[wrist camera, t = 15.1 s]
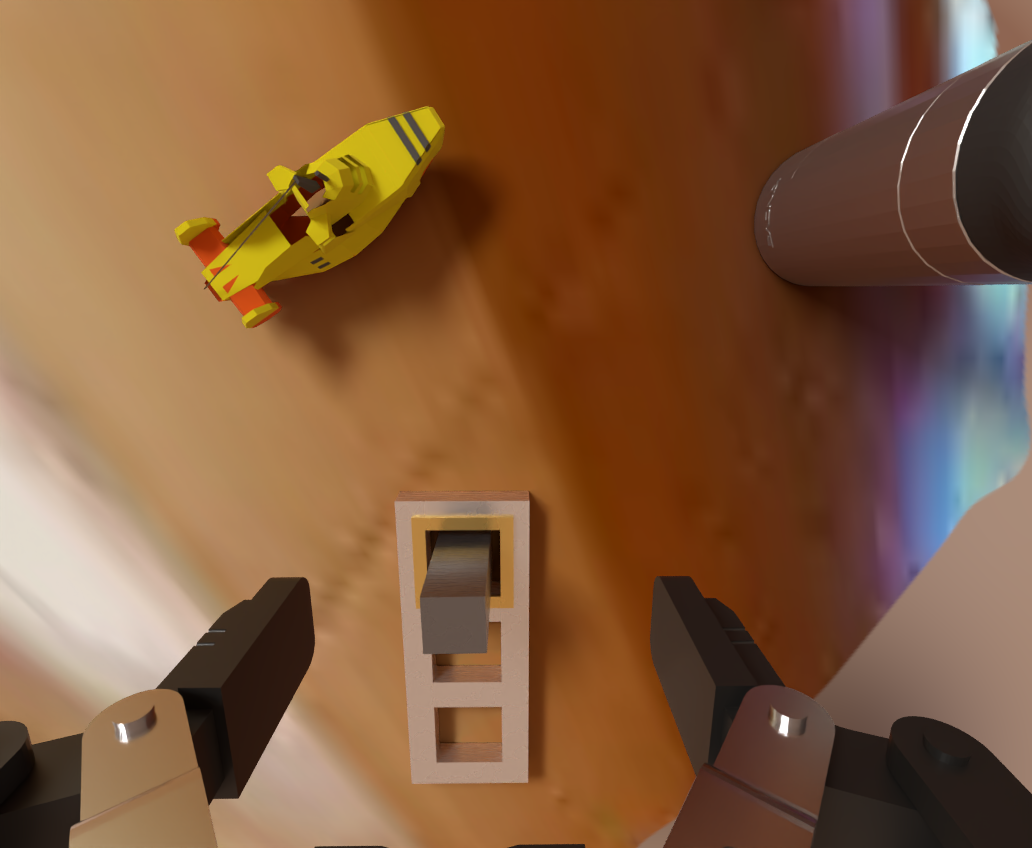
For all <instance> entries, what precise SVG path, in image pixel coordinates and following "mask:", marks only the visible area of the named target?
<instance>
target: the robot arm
mask: <svg viewBox="0 0 1032 848" xmlns="http://www.w3.org/2000/svg"><path fill="white" fill-rule="evenodd" d="M754 232H755V237H756V242H757V246H758V249H759V251H760V253H761V255H762V258H763V259H764V261H765V262H766V263H767V265H768V266H769V267H770V269H771V270H772V271H774V272H775V273H776V274H777V275H779V276H780V277H781V278H783V279H785V280H787V281H789V282H791V283H793V284H798V285H803V286H933V285H993V284H1032V40H1030V41H1029V42H1026V43H1024V44H1022V45H1020V46H1018V47H1016V48H1014V49H1012V50H1010V51H1007V52H1006V53H1003V54H1001V55H999V56H997V57H995V58H993V59H991V60H989V61H987V62H985V63H983V64H981V65H979V66H977V67H975V68H973V69H971V70H969V71H967V72H965V73H963V74H960V75H958V76H956V77H954V78H952V79H950V80H948V81H946V82H944V83H942V84H940V85H938V86H935V87H933V88H931V89H929V90H927V91H925V92H923V93H921V94H919V95H917V96H915V97H913V98H910V99H908V100H906V101H904V102H902V103H900V104H898V105H896V106H894V107H892V108H890V109H888V110H885V111H883V112H881V113H879V114H877V115H875V116H873V117H871V118H869V119H867V120H865V121H863V122H860V123H858V124H856V125H854V126H852V127H850V128H848V129H846V130H844V131H842V132H840V133H837V134H835V135H833V136H831V137H829V138H827V139H825V140H823V141H821V142H819V143H817V144H815V145H812V146H810V147H808V148H806V149H804V150H802V151H800V152H798V153H796V154H795V155H793V156H792V157H790V158H789V159H788V160H786V161H785V162H783V163H782V164H781V165H780V167H779V168H778V169H777V170H776V171H775V172H774V173H773V174H772V175H771V177H770V178H769V180H768V182H767V183H766V185H765V186H764V188H763V190H762V193H761V195H760V198H759V200H758V203H757V208H756V213H755V231H754ZM650 643H651V653H652V659H653V663H654V666H655V669H656V671H657V674H658V677H659V679H660V682H661V684H662V687H663V690H664V692H665V695H666V698H667V700H668V703H669V706H670V708H671V711H672V713H673V716H674V719H675V721H676V724H677V727H678V729H679V732H680V735H681V737H682V740H683V742H684V745H685V748H686V750H687V753H688V756H689V758H690V761H691V764H692V766H693V769H694V771H695V774H696V779H695V781H694V783H693V785H692V787H691V789H690V791H689V794H688V796H687V798H686V800H685V802H684V804H683V806H682V808H681V810H680V813H679V815H678V817H677V819H676V821H675V823H674V825H673V827H672V829H671V832H670V834H669V836H668V838H667V840H666V842H665V845H664V846H663V848H1032V794H1031V793H1030V792H1029V791H1028V790H1027V789H1026V788H1025V787H1024V786H1023V785H1022V784H1021V782H1019V780H1018V779H1017V778H1015V776H1014V775H1013V774H1012V773H1011V772H1010V771H1009V770H1008V769H1007V768H1006V767H1005V766H1004V765H1003V764H1002V763H1001V762H1000V761H999V760H998V759H997V758H996V757H995V756H994V755H993V753H991V752H990V751H989V750H988V749H987V748H986V747H985V746H984V745H983V744H981V743H980V742H979V741H977V740H976V739H974V738H973V737H971V736H970V735H968V734H966V733H965V732H963V731H961V730H959V729H957V728H955V727H953V726H951V725H949V724H946V723H943V722H941V721H937V720H934V719H930V718H925V717H917V716H908V717H903V718H900V719H898V720H897V721H895V722H894V723H893V725H892V727H891V732H890V737H889V739H887V738H883V737H879V736H874V735H870V734H866V733H862V732H857V731H853V730H849V729H845V728H842V727H839V726H836V725H834V723H833V720H832V718H831V717H830V715H829V714H828V713H827V711H826V710H825V709H824V708H823V707H822V706H821V705H819V704H818V703H817V702H816V701H814V700H813V699H811V698H810V697H808V696H806V695H805V694H803V693H801V692H798V691H796V690H793V689H790V688H787V687H785V685H784V684H783V682H782V681H781V679H780V678H779V676H778V675H777V674H776V672H775V671H774V669H773V668H772V666H771V665H770V663H769V662H768V661H767V659H766V658H765V656H764V655H763V653H762V652H761V650H760V649H759V648H758V646H757V645H756V644H754V640H753V639H752V637H751V636H750V634H749V633H748V632H747V631H745V627H744V626H743V624H742V623H741V621H740V620H739V619H738V617H737V616H736V614H735V613H734V612H733V611H732V610H731V609H729V608H728V607H727V606H725V605H724V604H722V603H721V602H720V601H718V600H717V599H716V598H704V597H703V596H702V594H701V593H700V591H699V589H698V588H697V586H696V585H695V583H694V581H693V580H692V578H691V577H689V576H657V577H656V579H655V582H654V590H653V605H652V619H651V634H650ZM314 646H315V634H314V625H313V616H312V606H311V597H310V588H309V583H308V581H307V579H306V578H304V577H281V578H270V579H269V580H268V581H267V582H266V583H265V584H264V585H263V587H262V588H261V589H260V590H259V591H258V593H257V594H256V595H255V596H254V597H253V599H252V600H243V601H242V602H240V603H239V604H237V605H236V606H234V607H232V608H231V609H229V610H228V611H226V612H225V613H223V614H222V615H221V616H220V617H219V619H218V620H217V621H216V622H215V623H214V624H213V625H212V626H211V627H210V629H209V632H208V633H205V634H204V635H203V636H202V638H201V639H200V640H199V641H198V642H197V646H194V647H193V648H192V649H191V650H190V651H189V652H188V653H187V654H186V655H185V657H184V658H183V659H182V660H181V661H180V662H179V663H178V664H177V666H176V667H175V668H174V669H173V670H172V671H171V672H170V673H169V675H168V676H167V677H166V678H165V679H164V680H163V681H162V682H161V684H160V685H159V686H158V687H157V688H156V689H154V690H148V691H143V692H140V693H137V694H133V695H131V696H128V697H126V698H124V699H122V700H120V701H118V702H116V703H114V704H113V705H111V706H109V707H108V708H106V709H105V710H104V711H102V712H101V713H100V714H99V715H97V716H96V717H95V718H94V719H93V720H92V721H91V722H90V723H89V725H88V726H87V728H86V729H85V731H84V733H81V734H77V735H72V736H68V737H64V738H60V739H55V740H51V741H47V742H42V743H38V744H34V745H32V744H31V741H30V737H29V733H28V730H27V727H26V726H25V725H24V724H22V723H20V722H16V721H1V722H0V848H218V846H217V841H216V837H215V832H214V828H213V824H212V819H211V815H210V810H209V805H210V803H211V802H212V800H213V799H238V798H239V797H240V795H241V793H242V791H243V789H244V787H245V785H246V783H247V782H248V780H249V778H250V776H251V774H252V772H253V770H254V769H255V767H256V765H257V763H258V761H259V759H260V757H261V756H262V754H263V752H264V750H265V748H266V746H267V744H268V743H269V741H270V739H271V737H272V735H273V733H274V731H275V730H276V728H277V726H278V724H279V722H280V720H281V718H282V717H283V715H284V713H285V711H286V709H287V707H288V705H289V703H290V702H291V700H292V698H293V696H294V694H295V692H296V690H297V689H298V687H299V685H300V683H301V681H302V679H303V677H304V676H305V674H306V672H307V670H308V668H309V666H310V664H311V661H312V657H313V653H314ZM315 848H387V847H383V846H323V847H315ZM509 848H585V844H550V845H516V846H512V847H509Z"/></svg>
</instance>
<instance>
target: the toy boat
mask: <svg viewBox="0 0 1032 848" xmlns="http://www.w3.org/2000/svg"><path fill="white" fill-rule="evenodd" d="M444 131H445V126H444V124H443V122H442V121H441V119H440V118H439V116H438V114H437V113H436V111H435V110H434V108H433V107H428V106H427V107H423V108H420V109H416V110H413V111H408V112H404V113H403V114H399V115H396V116H391V117H387V118H385V119H382V120H379V121H375V122H372V123H368V124H366V125H364V126H363V127H362V128H360V129H359V130H358V131H356V132H355V133H353V134H352V135H351V136H349V137H348V138H347V139H345V140H344V141H342V142H341V143H340V144H338V145H337V146H336V147H334V148H333V149H331V150H330V151H329V152H327V153H326V154H325V155H323V156H322V157H320V158H319V159H318V160H316V161H315V162H313V163H310V164H305V165H304V166H303V167H301V168H300V169H299V170H297V171H292V170H290V169H288V168H286V167H284V166H281V165H278V166H277V167H275V168H274V169H273V170H271V171H270V172H269V173H268V174H267V175H268V177H269V179H270V181H271V182H272V184H273V186H274V187H275V189H276V191H279V193H278V194H277V195H276V196H275V197H273V198H272V199H271V200H270V201H269V202H267V203H266V204H265V205H264V206H263V207H261V208H260V209H259V210H258V211H257V212H256V213H254V214H253V215H252V216H251V217H250V218H248V219H247V220H246V221H245V222H244V223H242V224H241V225H240V226H239V227H238V228H236V229H235V230H234V231H233V232H232V233H230V234H229V235H228V236H227V237H226V238H224V237H223V236H222V235H221V234H220V232H219V231H218V230H219V227H220V224H219V222H218V221H217V220H216V219H213V218H206V217H202V218H198V219H193V220H188V221H185V222H184V223H182V224H181V225H180V226H179V227H177V228H176V229H175V230H174V231H175V234H176V237H177V239H178V240H179V242H180V243H181V244H182V245H187V246H190V247H191V248H192V250H193V251H194V252H195V254H196V255H197V256H198V258H199V259H200V260H201V262H202V263H203V264H204V266H205V267H206V268H205V269H204V270H203V271H202V272H201V273H202V274H203V276H204V277H205V278H206V279H207V280H206V282H205V284H206V287H205V288H204V289H206V288H207V287H208V288H209V289H210V291H211V292H212V293H213V295H214V296H215V297H216V298H217V300H218V301H219V302H220V301H228V300H231V301H232V302H233V303H234V305H235V306H236V307H237V308H238V310H239V311H240V312H241V313H242V315H243V317H242V323H243V324H244V326H245V327H246V328H254V327H257V326H258V325H260V324H262V323H264V322H265V321H267V320H269V319H270V318H271V317H273V316H274V315H275V314H277V313H278V312H279V311H280V310H281V308H282V306H281V305H280V304H279V302H274V303H272V302H271V300H270V299H269V298H268V296H267V295H266V293H265V292H264V290H263V289H262V287H263V286H264V285H266V284H267V283H269V282H271V281H276V280H281V279H287V278H292V277H298V276H303V275H309V274H314V273H320V272H325V271H327V270H329V269H331V268H332V267H334V266H336V265H338V264H340V263H342V262H344V261H346V260H348V259H350V258H352V257H354V256H356V255H357V254H358V253H359V252H361V251H362V250H363V249H364V248H365V247H366V246H367V245H369V244H370V243H371V242H372V241H373V240H374V239H375V238H377V237H378V236H379V235H380V234H381V233H382V232H383V231H384V230H385V228H386V227H387V225H388V224H389V222H390V221H391V219H392V218H393V216H394V215H395V214H396V212H397V211H398V209H399V208H400V206H401V205H402V203H403V202H404V200H405V199H406V198H408V197H412V195H413V194H414V192H415V191H416V189H417V188H418V186H419V185H420V183H421V177H422V176H423V174H424V173H425V171H426V170H427V168H428V167H429V165H430V163H431V162H432V159H433V158H434V157H435V155H436V154H437V153H438V152H439V150H440V149H441V148H442V143H443V138H444ZM404 181H405V182H404ZM323 188H325V189H326V192H325V193H324V195H323V198H327V199H331V200H330V201H329V202H328V203H326V204H325V205H323V206H320V207H317V208H314V209H312V210H311V211H310V212H308V213H307V210H306V209H307V207H308V206H309V205H308V203H307V201H308V200H309V199H310V198H311V197H312V196H313V195H314V194H315V193H316V192H318V191H320V190H321V189H323ZM301 206H302V208H303V209H304V211H305V212H306V213H307V215H308V216H309V217H308V216H292V215H293V214H294V213H295V212H296V211H297V210H298V209H299V208H300V207H301ZM347 214H349V215H350V217H351V218H352V220H353V221H354V223H353V224H352V225H351V226H349V227H348V228H347V229H345V230H346V231H347V232H346V233H345V234H344V235H342V236H339V237H336V236H335V235H334V233H333V232H332V225H333V224H334V223H336V222H337V221H338V220H340V219H341V218H342V217H344V216H345V215H347ZM309 218H310V219H309Z"/></svg>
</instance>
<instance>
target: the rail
mask: <svg viewBox="0 0 1032 848" xmlns="http://www.w3.org/2000/svg"><path fill="white" fill-rule="evenodd" d="M529 511H530V500H529V491H401V492H400V493H399V495H398V496H397V498H396V500H395V514H396V530H397V547H398V563H399V580H400V596H401V612H402V629H403V645H404V662H405V678H406V694H407V711H408V727H409V744H410V760H411V777H412V784H427V783H528V704H529ZM430 530H500V572H501V581H492V585H491V600H490V614H489V622H501V665H478V666H436V654H423V643H422V627H421V612H420V594H421V591H422V588H423V584H424V581H425V578H426V574H427V571H428V568H429V564H430V561H431V536H430ZM438 707H502V743H440V740H439V717H438Z"/></svg>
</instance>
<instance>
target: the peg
mask: <svg viewBox="0 0 1032 848" xmlns="http://www.w3.org/2000/svg"><path fill="white" fill-rule="evenodd" d="M491 585H492V536H491V530H440V531H439V535H438V538H437V541H436V545H435V548H434V551H433V555H432V558H431V561H430V564H429V568H428V571H427V574H426V578H425V581H424V584H423V588H422V591H421V594H420V612H421V627H422V643H423V654H463V653H487V643H488V629H489V614H490V600H491Z"/></svg>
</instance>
